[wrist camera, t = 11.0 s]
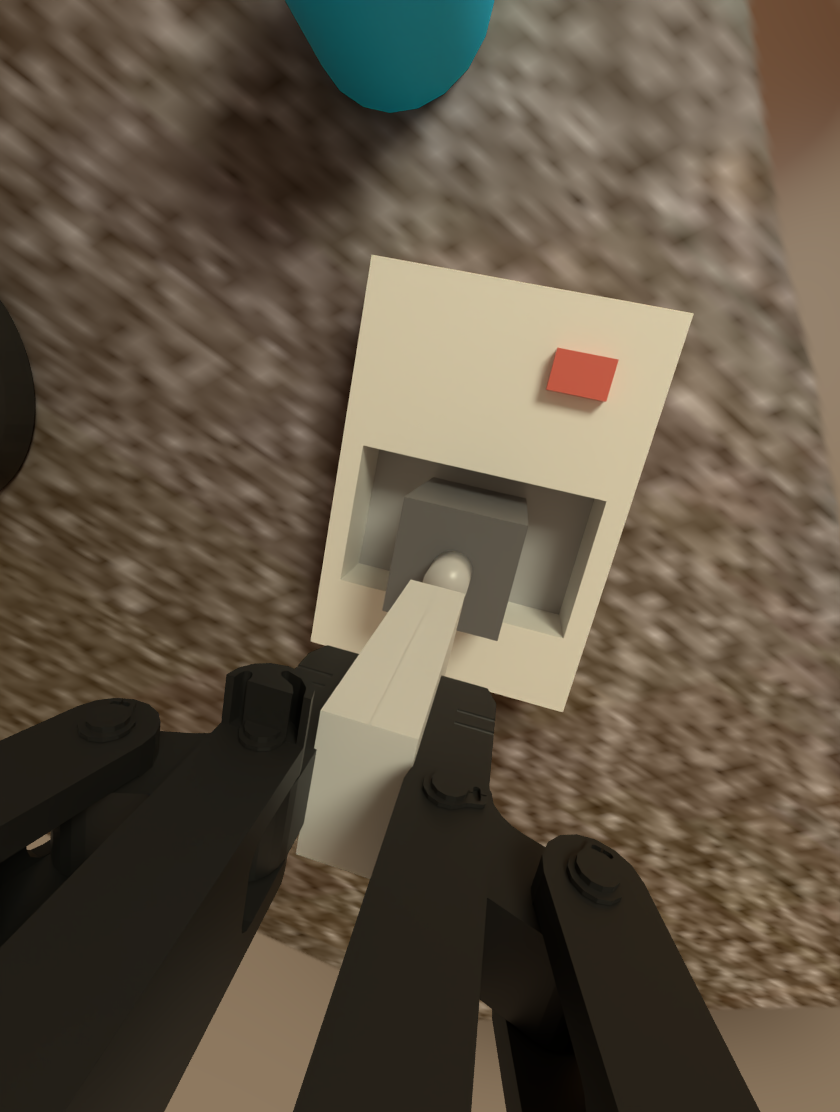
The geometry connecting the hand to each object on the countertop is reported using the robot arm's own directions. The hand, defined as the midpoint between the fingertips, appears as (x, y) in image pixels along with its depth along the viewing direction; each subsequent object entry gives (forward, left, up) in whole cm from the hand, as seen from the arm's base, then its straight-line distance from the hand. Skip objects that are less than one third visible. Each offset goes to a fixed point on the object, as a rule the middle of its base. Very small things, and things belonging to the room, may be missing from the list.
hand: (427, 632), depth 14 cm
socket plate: (0, +2, -14) cm, 14 cm away
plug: (0, 0, -14) cm, 14 cm away
